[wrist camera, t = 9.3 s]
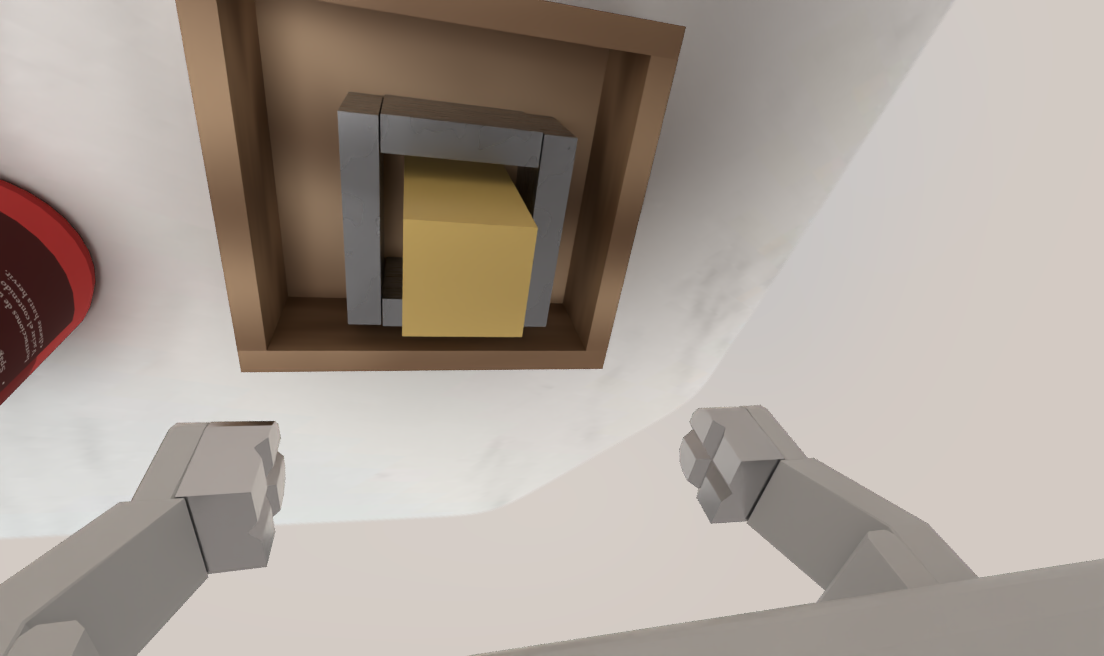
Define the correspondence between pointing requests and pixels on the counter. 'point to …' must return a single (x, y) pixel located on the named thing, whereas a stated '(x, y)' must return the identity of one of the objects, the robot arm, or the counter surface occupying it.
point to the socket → (445, 135)
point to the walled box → (418, 72)
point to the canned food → (37, 283)
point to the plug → (464, 250)
